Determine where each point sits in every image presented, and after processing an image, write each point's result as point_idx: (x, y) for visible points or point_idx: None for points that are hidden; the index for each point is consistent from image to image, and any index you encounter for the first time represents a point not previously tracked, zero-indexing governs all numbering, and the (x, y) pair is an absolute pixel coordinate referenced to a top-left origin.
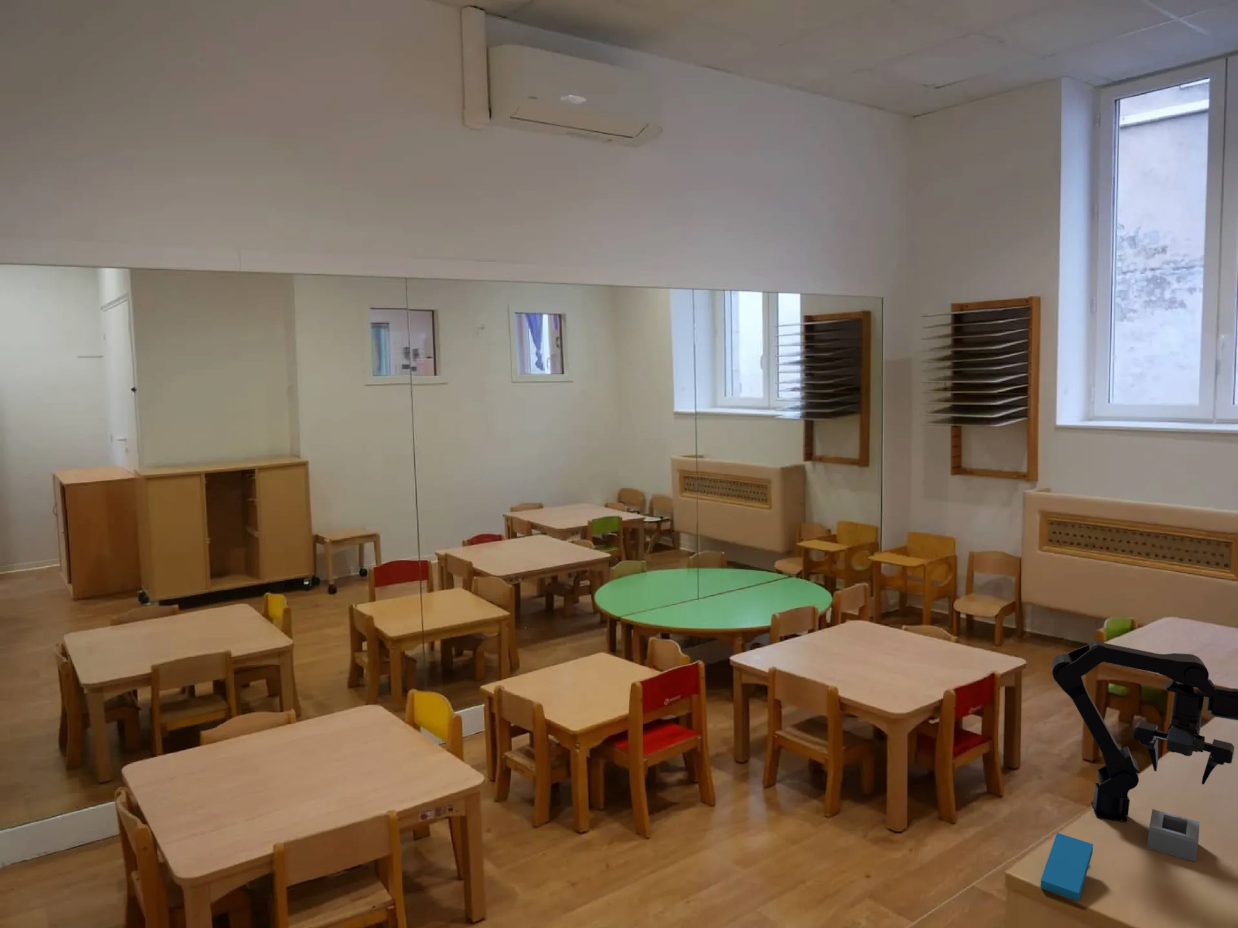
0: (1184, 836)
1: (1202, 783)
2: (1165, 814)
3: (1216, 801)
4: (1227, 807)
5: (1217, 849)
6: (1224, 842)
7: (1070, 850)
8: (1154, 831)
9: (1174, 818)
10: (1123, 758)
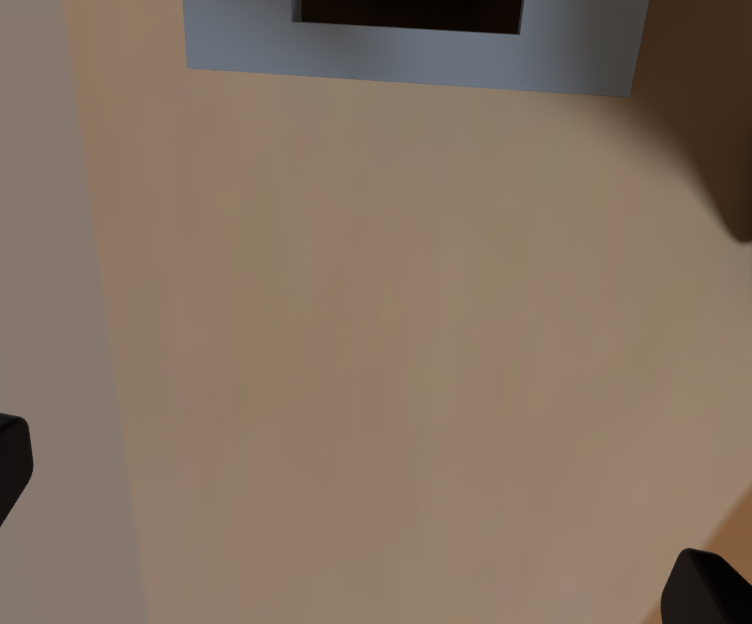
0: None
1: (6, 415)
2: (500, 38)
3: None
4: (151, 610)
5: (131, 34)
6: (109, 182)
7: None
8: None
9: (413, 28)
10: None
